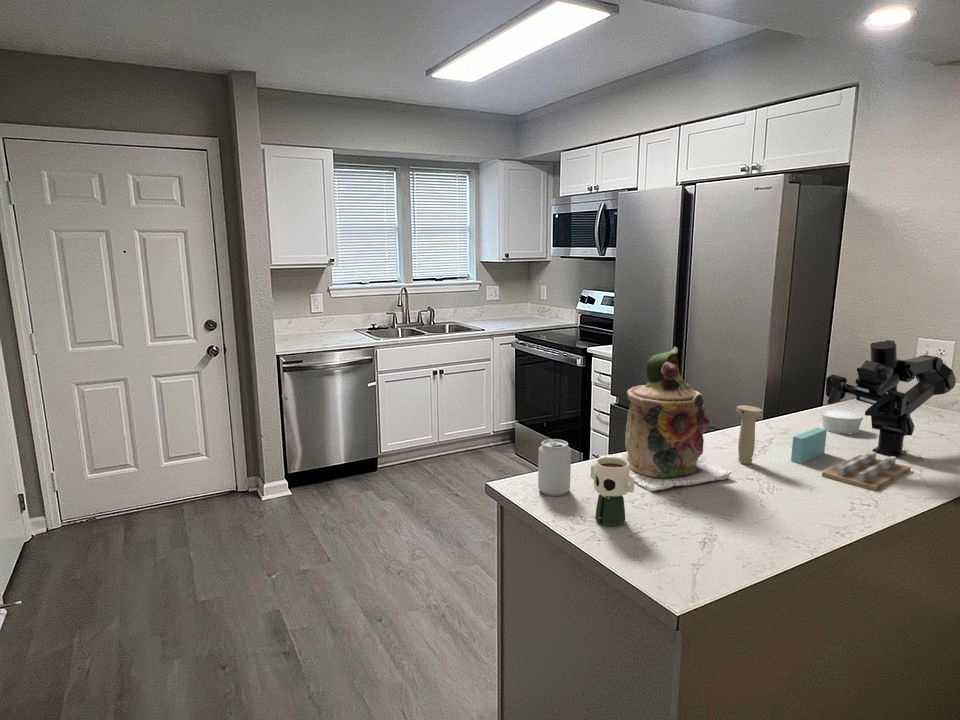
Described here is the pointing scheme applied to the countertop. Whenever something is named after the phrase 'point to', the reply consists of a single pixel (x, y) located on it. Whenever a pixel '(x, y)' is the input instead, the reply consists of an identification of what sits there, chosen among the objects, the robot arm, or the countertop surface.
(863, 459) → the track
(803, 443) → the door panel
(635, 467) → the cookie jar
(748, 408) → the handle
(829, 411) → the ramekin
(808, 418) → the countertop surface
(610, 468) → the character mug
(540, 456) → the can
